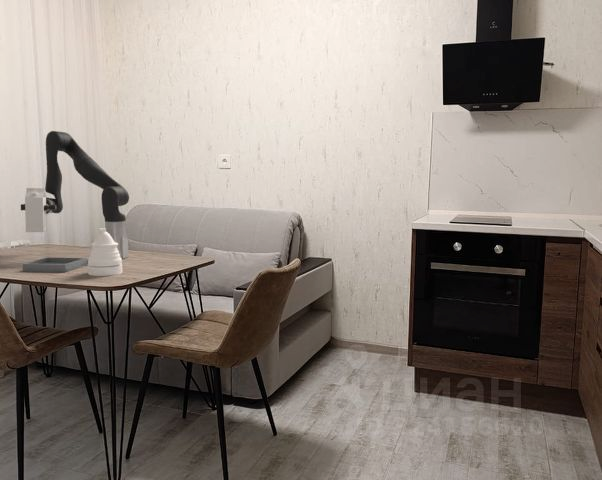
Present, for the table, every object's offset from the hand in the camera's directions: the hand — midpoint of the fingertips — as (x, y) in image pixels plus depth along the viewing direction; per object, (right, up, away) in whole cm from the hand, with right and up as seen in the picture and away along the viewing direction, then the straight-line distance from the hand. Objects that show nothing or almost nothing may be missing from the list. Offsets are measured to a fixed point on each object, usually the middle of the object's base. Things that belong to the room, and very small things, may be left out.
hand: (34, 207), depth 238 cm
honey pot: (+37, -27, -18) cm, 49 cm away
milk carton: (-1, -11, +3) cm, 11 cm away
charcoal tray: (+13, -26, -8) cm, 30 cm away
